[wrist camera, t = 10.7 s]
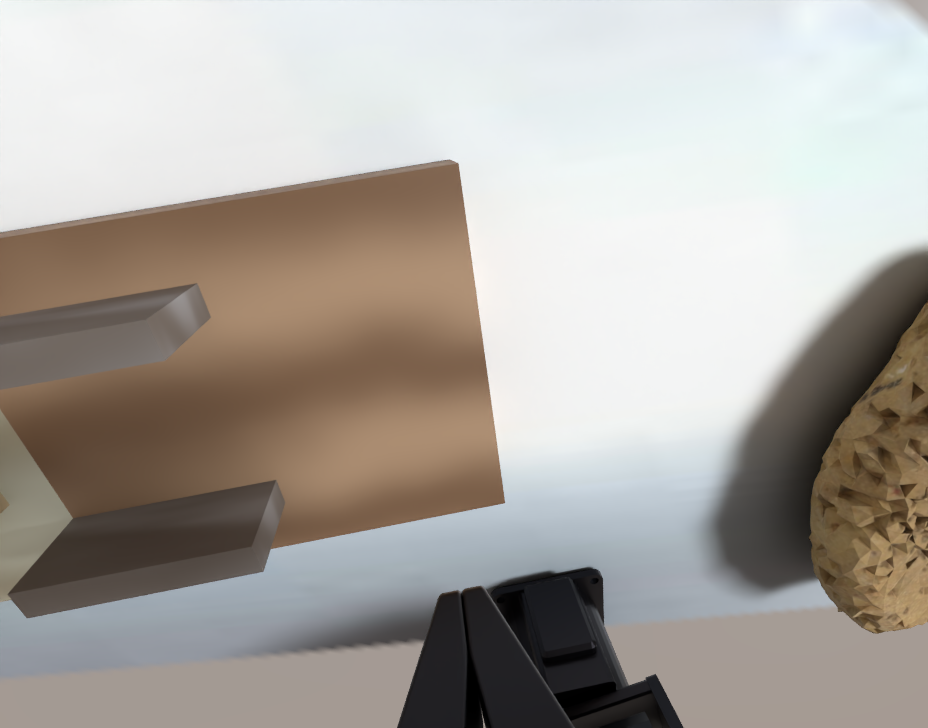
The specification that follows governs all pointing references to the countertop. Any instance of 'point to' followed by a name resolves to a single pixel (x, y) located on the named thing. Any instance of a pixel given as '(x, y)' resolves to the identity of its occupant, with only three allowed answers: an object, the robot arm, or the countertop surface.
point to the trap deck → (236, 383)
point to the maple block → (3, 503)
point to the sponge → (879, 497)
